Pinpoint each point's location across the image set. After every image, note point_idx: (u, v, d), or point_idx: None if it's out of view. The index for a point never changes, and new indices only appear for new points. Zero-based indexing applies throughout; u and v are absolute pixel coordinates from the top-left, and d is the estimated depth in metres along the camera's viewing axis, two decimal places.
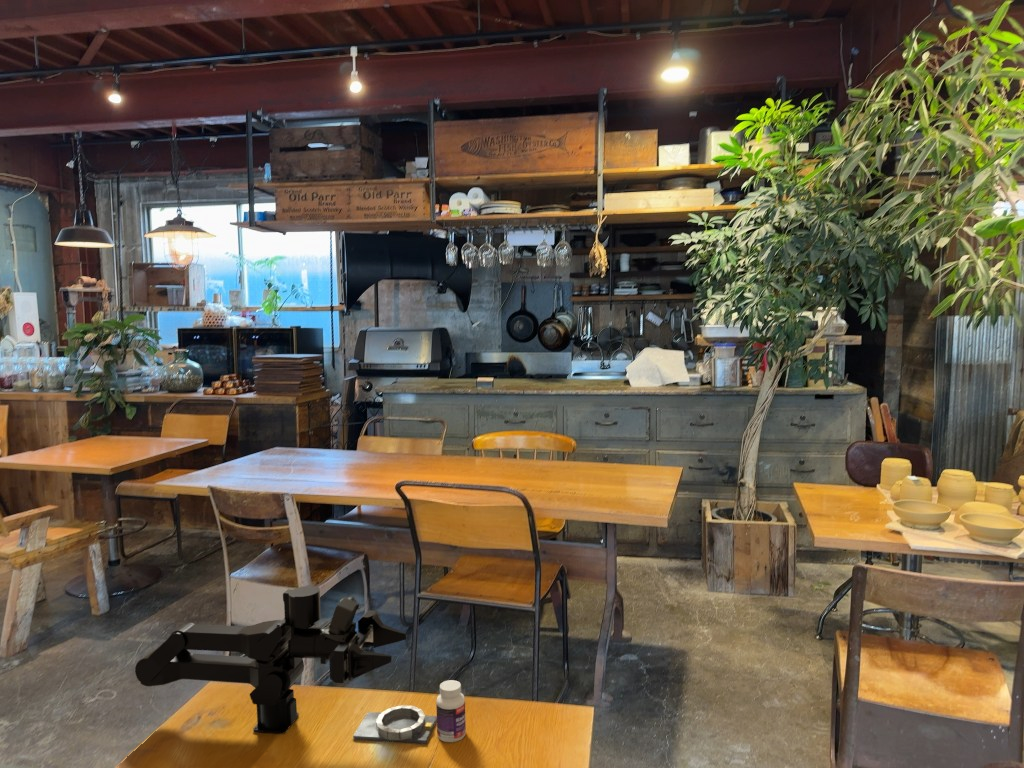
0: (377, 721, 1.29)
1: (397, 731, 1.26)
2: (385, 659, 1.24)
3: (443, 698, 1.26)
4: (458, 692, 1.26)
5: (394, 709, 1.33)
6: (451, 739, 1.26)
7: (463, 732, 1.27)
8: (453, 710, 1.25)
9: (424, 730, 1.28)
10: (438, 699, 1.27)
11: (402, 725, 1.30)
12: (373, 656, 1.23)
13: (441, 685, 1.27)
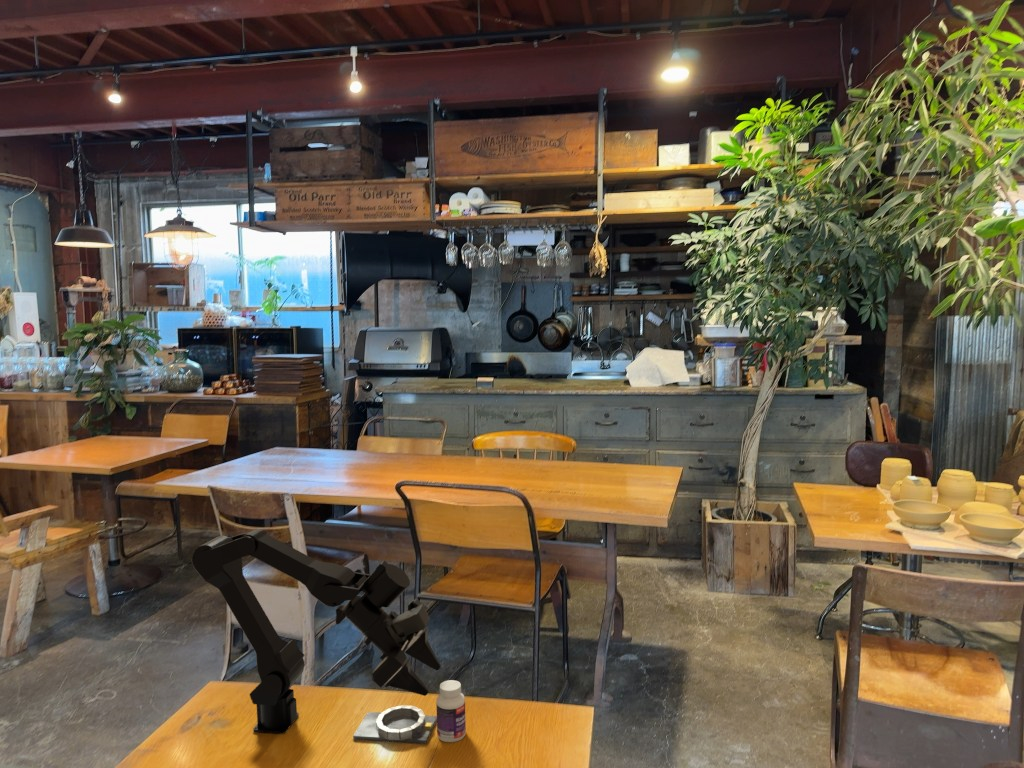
0: (377, 721, 1.29)
1: (397, 731, 1.26)
2: (422, 690, 1.23)
3: (443, 698, 1.26)
4: (458, 692, 1.26)
5: (394, 709, 1.33)
6: (451, 739, 1.26)
7: (463, 732, 1.27)
8: (453, 710, 1.25)
9: (424, 730, 1.28)
10: (438, 699, 1.27)
11: (402, 725, 1.30)
12: (416, 681, 1.22)
13: (441, 685, 1.27)
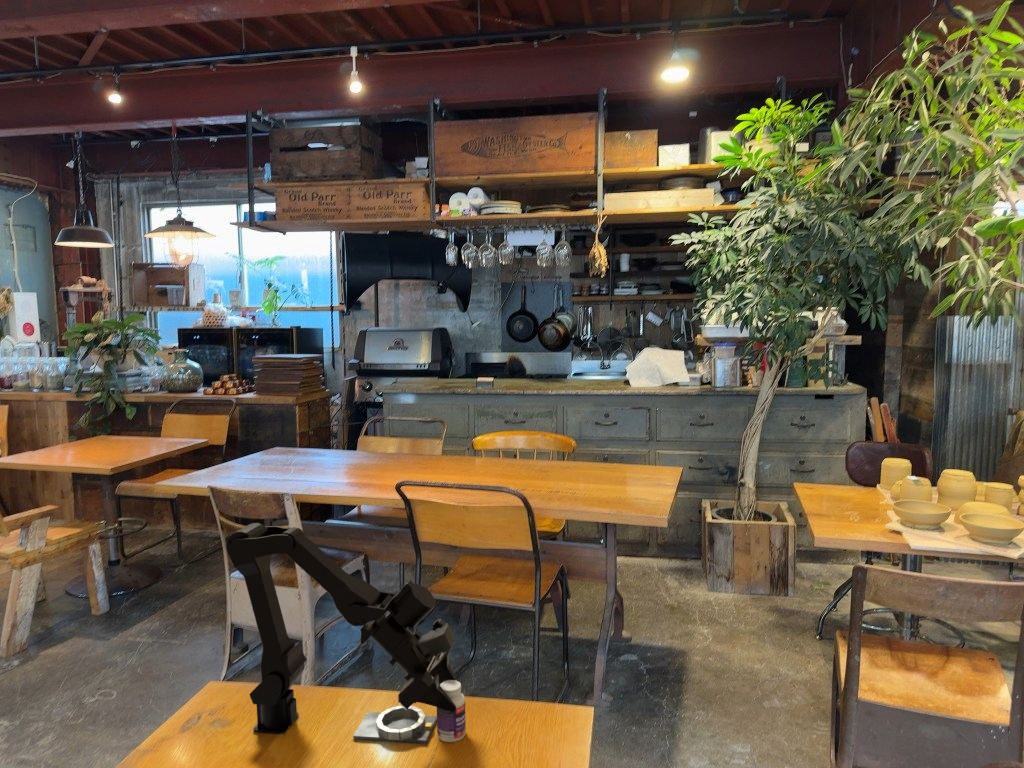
0: (377, 721, 1.29)
1: (397, 731, 1.26)
2: (449, 706, 1.24)
3: None
4: (458, 692, 1.26)
5: (394, 709, 1.33)
6: (451, 739, 1.26)
7: (463, 732, 1.27)
8: None
9: (424, 730, 1.28)
10: None
11: (402, 725, 1.30)
12: (444, 698, 1.24)
13: (441, 685, 1.27)
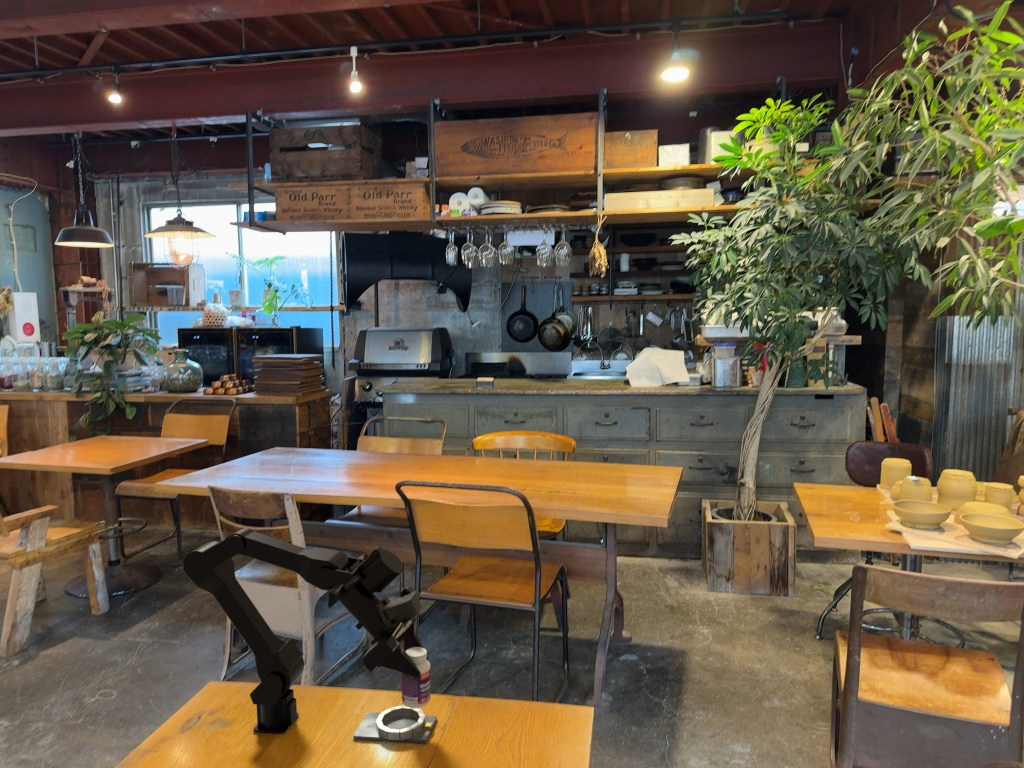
0: (377, 721, 1.29)
1: (397, 731, 1.26)
2: (414, 671, 1.25)
3: None
4: (423, 658, 1.27)
5: (394, 709, 1.33)
6: (415, 705, 1.26)
7: (427, 698, 1.28)
8: (418, 676, 1.26)
9: (424, 730, 1.28)
10: None
11: (402, 725, 1.30)
12: (409, 663, 1.24)
13: (407, 651, 1.28)
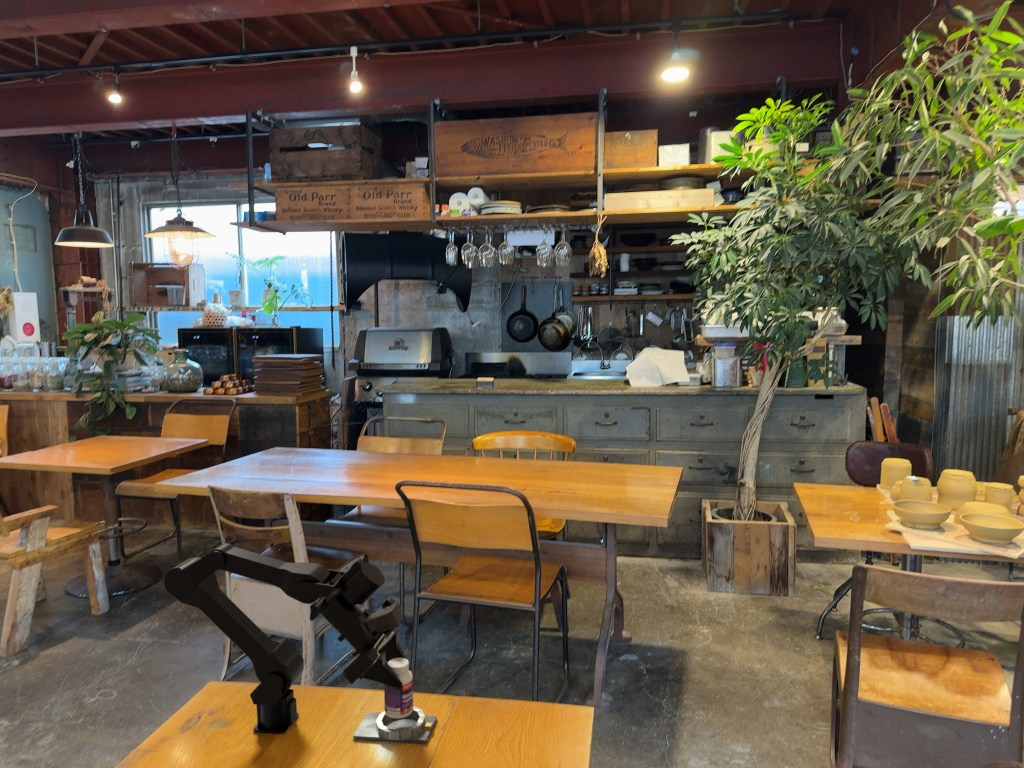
0: (377, 721, 1.29)
1: (397, 731, 1.26)
2: (396, 683, 1.26)
3: None
4: (405, 669, 1.28)
5: None
6: (398, 716, 1.27)
7: (410, 709, 1.29)
8: (400, 687, 1.27)
9: (424, 730, 1.28)
10: None
11: (402, 725, 1.30)
12: (390, 674, 1.25)
13: (389, 662, 1.29)
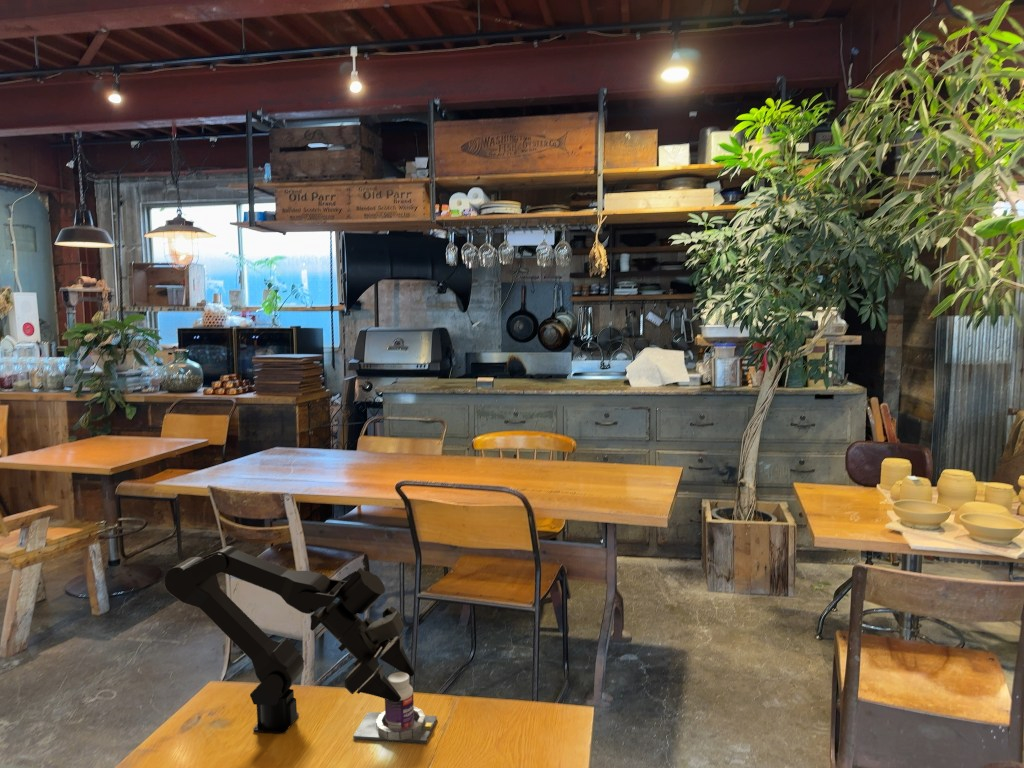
0: (377, 721, 1.29)
1: (397, 731, 1.26)
2: (394, 697, 1.24)
3: None
4: (406, 684, 1.28)
5: None
6: None
7: (411, 723, 1.29)
8: (400, 701, 1.27)
9: (424, 730, 1.28)
10: None
11: None
12: (388, 688, 1.24)
13: (389, 677, 1.29)
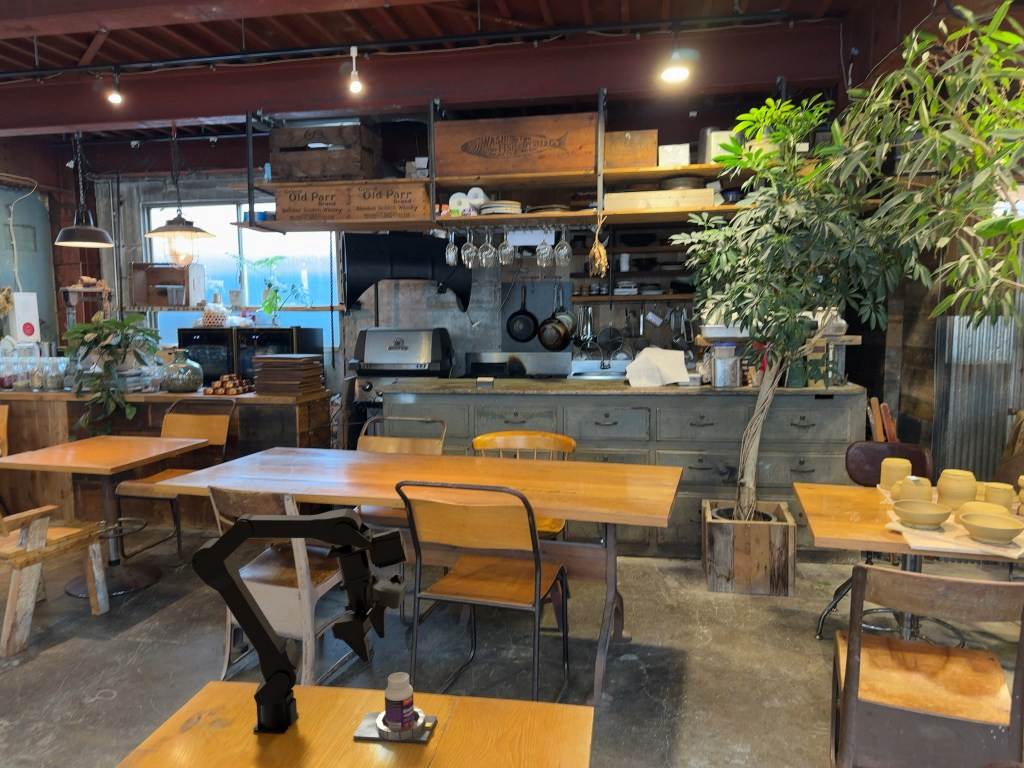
0: (377, 721, 1.29)
1: (397, 731, 1.26)
2: (364, 656, 1.29)
3: (391, 689, 1.28)
4: (406, 684, 1.28)
5: None
6: None
7: (411, 723, 1.29)
8: (400, 701, 1.27)
9: (424, 730, 1.28)
10: (386, 691, 1.29)
11: None
12: (364, 648, 1.28)
13: (389, 677, 1.29)
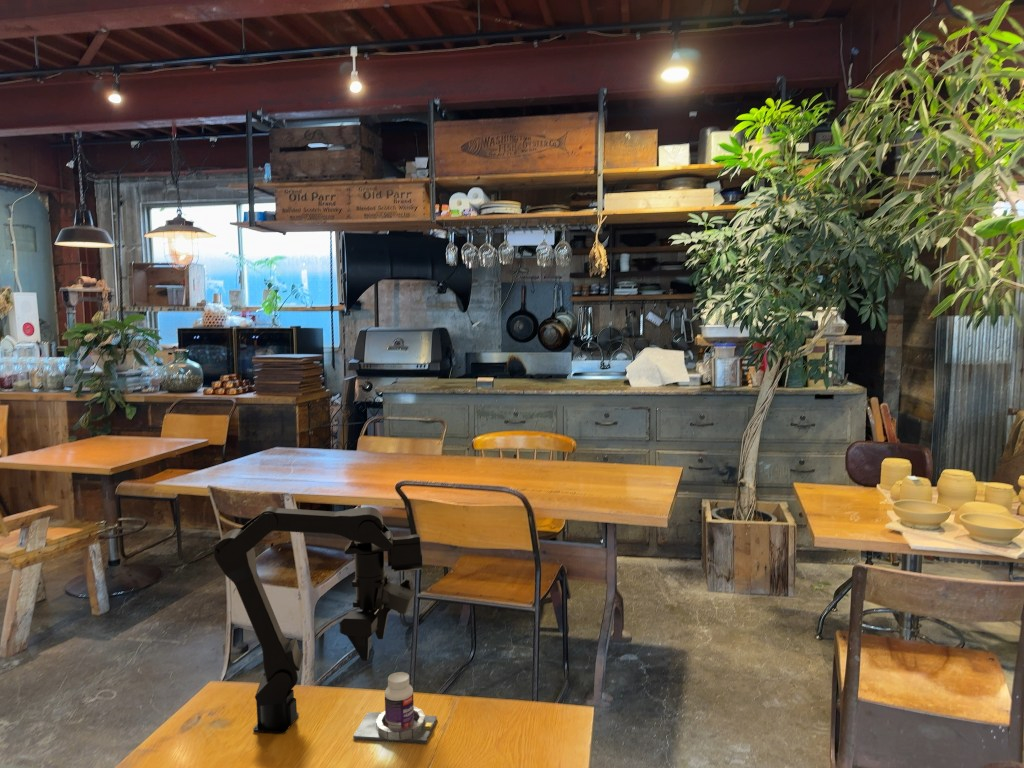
0: (377, 721, 1.29)
1: (397, 731, 1.26)
2: (364, 655, 1.30)
3: (391, 689, 1.28)
4: (406, 684, 1.28)
5: None
6: None
7: (411, 723, 1.29)
8: (400, 701, 1.27)
9: (424, 730, 1.28)
10: (386, 690, 1.29)
11: None
12: (366, 648, 1.29)
13: (389, 677, 1.29)
